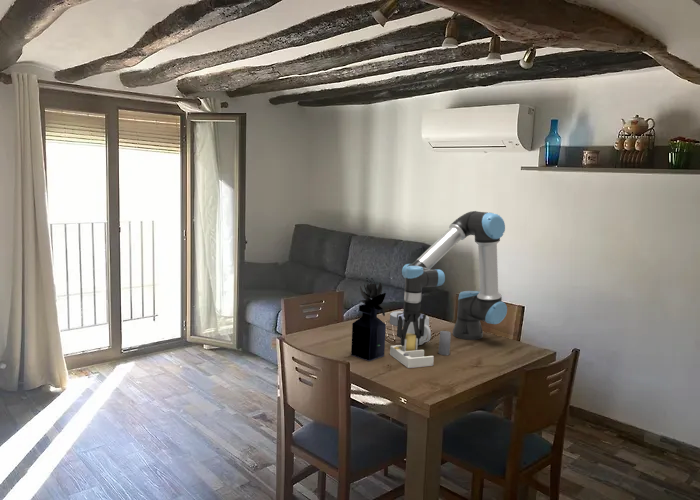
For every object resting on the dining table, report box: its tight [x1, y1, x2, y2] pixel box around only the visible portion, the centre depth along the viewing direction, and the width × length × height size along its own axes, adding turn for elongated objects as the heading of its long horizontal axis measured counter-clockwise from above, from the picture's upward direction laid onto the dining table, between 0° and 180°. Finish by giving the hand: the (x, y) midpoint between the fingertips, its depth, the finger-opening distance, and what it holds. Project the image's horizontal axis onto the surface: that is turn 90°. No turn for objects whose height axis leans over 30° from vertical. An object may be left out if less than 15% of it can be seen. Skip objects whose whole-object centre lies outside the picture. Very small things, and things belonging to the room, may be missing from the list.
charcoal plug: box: [438, 330, 452, 356], centre depth 249 cm, size 5×5×10 cm
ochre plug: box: [405, 333, 416, 351], centre depth 243 cm, size 5×5×10 cm
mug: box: [407, 315, 432, 346], centre depth 261 cm, size 15×11×13 cm
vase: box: [350, 277, 387, 362], centre depth 240 cm, size 14×12×35 cm
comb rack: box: [389, 344, 435, 369], centre depth 239 cm, size 12×18×5 cm, turn 21°
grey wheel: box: [389, 310, 405, 328], centre depth 298 cm, size 15×15×5 cm
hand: (409, 352), depth 243 cm, fingers closed on ochre plug, 5 cm apart
